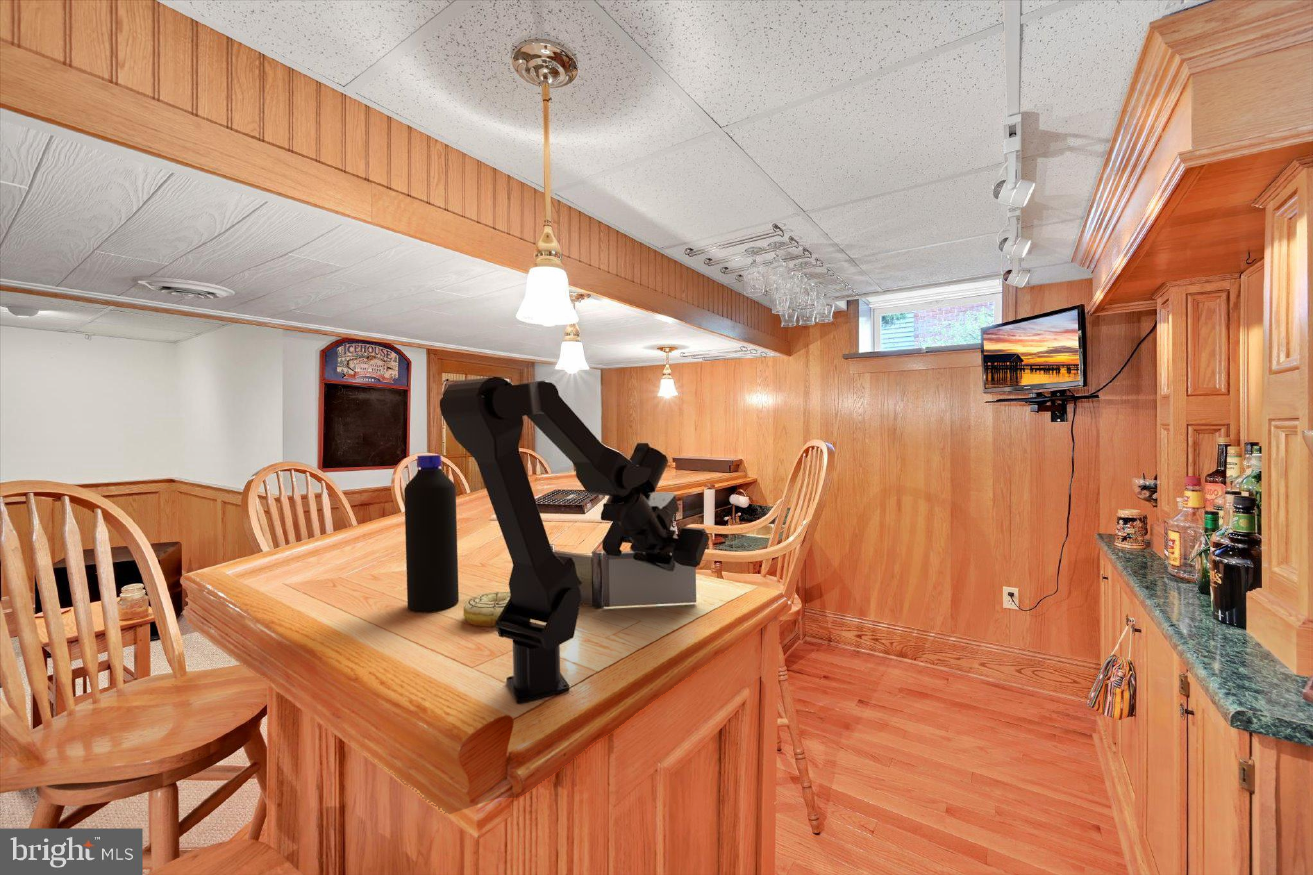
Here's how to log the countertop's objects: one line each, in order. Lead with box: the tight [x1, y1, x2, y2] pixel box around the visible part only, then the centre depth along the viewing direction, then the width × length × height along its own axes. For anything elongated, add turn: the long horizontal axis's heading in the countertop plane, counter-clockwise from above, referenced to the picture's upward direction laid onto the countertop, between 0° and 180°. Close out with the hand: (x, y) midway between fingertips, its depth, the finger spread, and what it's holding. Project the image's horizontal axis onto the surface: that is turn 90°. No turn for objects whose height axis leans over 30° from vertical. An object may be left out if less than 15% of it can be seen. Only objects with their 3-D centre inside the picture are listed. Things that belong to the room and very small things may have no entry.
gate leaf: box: [602, 550, 697, 608], centre depth 94 cm, size 17×2×10 cm, turn 95°
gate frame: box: [550, 543, 605, 610], centre depth 97 cm, size 14×2×10 cm, turn 57°
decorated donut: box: [463, 591, 511, 628], centre depth 90 cm, size 10×11×4 cm
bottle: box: [403, 454, 460, 613], centre depth 97 cm, size 9×9×28 cm
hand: (671, 568), depth 93 cm, fingers closed
